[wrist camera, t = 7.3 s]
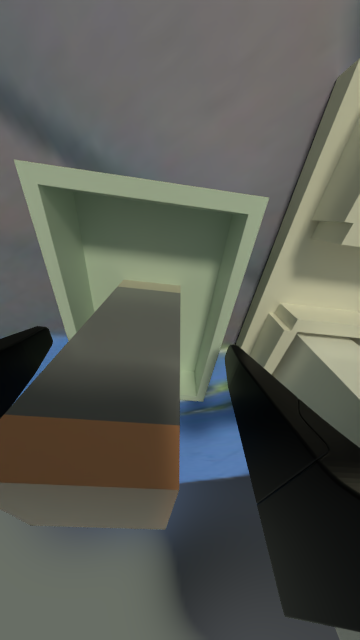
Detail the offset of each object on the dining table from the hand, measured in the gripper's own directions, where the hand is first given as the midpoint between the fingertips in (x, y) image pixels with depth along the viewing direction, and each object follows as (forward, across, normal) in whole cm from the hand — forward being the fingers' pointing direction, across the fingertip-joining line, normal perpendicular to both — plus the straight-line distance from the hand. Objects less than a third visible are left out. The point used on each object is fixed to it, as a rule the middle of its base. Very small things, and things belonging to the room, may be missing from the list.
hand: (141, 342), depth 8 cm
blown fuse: (+4, 0, 0) cm, 4 cm away
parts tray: (+4, 0, 0) cm, 4 cm away
